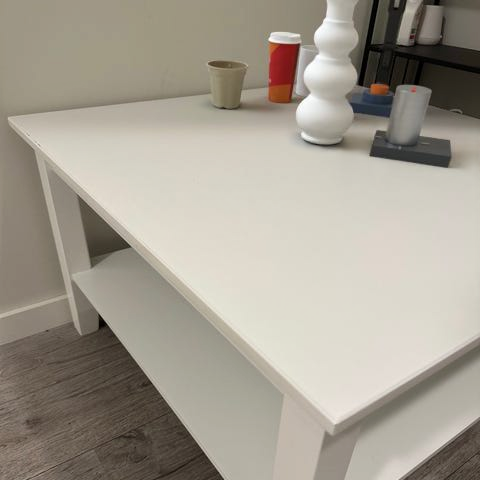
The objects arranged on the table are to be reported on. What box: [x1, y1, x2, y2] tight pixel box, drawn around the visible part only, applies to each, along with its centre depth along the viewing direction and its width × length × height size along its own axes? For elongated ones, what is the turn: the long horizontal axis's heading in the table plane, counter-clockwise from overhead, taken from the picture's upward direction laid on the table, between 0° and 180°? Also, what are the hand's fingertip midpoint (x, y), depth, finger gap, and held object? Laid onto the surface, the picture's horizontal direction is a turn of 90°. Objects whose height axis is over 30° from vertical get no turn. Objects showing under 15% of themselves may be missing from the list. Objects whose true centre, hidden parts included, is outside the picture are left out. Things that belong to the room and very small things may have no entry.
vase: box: [295, 0, 360, 146], centre depth 87 cm, size 11×11×25 cm
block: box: [348, 88, 395, 119], centre depth 113 cm, size 12×10×4 cm
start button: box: [370, 83, 390, 95], centre depth 111 cm, size 4×4×2 cm
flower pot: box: [205, 59, 250, 110], centre depth 108 cm, size 9×9×9 cm
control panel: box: [369, 129, 453, 168], centre depth 90 cm, size 14×10×2 cm
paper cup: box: [267, 31, 303, 104], centre depth 113 cm, size 8×8×14 cm
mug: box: [295, 44, 319, 98], centre depth 120 cm, size 12×8×10 cm, turn 86°
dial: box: [385, 84, 433, 146], centre depth 87 cm, size 6×6×9 cm
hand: (382, 81), depth 110 cm, fingers closed
